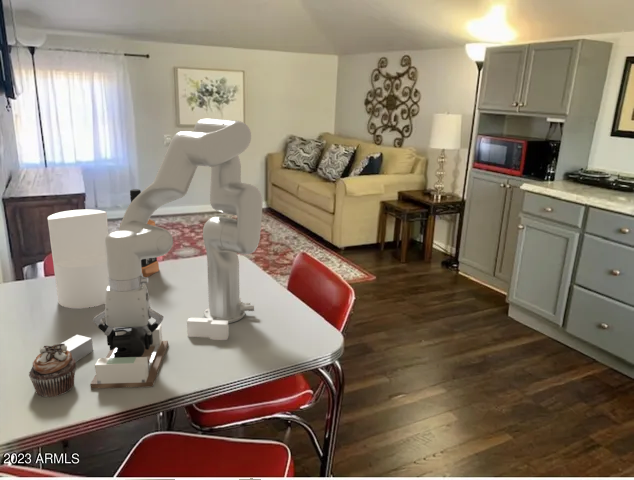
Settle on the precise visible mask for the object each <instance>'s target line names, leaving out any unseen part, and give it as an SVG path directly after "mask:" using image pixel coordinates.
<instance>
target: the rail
mask: <svg viewBox="0 0 634 480" xmlns="http://www.w3.org/2000/svg"><path fill="white" fill-rule="evenodd" d="M159 347H160V344H156V346H155V349H154V351H153V353H152V356H151V358H150V361H149V363H148V373H149V372H150V370H151V367H152V365H153V362H154V360H155V357H156V355H157V352H158V350H159ZM116 351H117V348H115V350H114V352H116ZM114 352H113V354H112V356H111V357H110V358H114ZM97 382H98V383H100V384H101V381H97ZM143 382H144V381H143V380H142V383H143ZM98 383H97V384H98Z"/></svg>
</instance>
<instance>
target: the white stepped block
mask: <svg viewBox="0 0 634 480" xmlns="http://www.w3.org/2000/svg"><path fill="white" fill-rule="evenodd" d="M186 324H187V325H186V326H187V327H186V328H187V331H186V332H187V337H189V338H208V340H209V339H210V340H214V341H215V340H217V341H219V340H220V341H228V338H229V323H228V321H221V320H213V318H205V317H188V318H187V321H186Z"/></svg>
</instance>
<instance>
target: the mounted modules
mask: <svg viewBox="0 0 634 480" xmlns="http://www.w3.org/2000/svg"><path fill="white" fill-rule="evenodd" d="M162 330H163V329H162V323H160V325H159V326H158V327H157V329H155V330H154V331H153V332H152V335H153V344H152V345H150V346H156V344H160V345H161V343H162V341H163V331H162ZM115 333H116V335H123V334H125V333H126V332H125V331H121V332H115ZM94 368H95V369H94V370H95V375H96V379H97V381H101V384H109V383H142V380H143V381H144V382H146V381H147V378H148V376H149V373H148V360H147V357H121V358H106V357H99V358H98V359H97V361H96V363H95V364H94ZM97 383H98V382H97ZM98 384H100V383H98Z"/></svg>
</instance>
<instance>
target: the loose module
mask: <svg viewBox="0 0 634 480" xmlns="http://www.w3.org/2000/svg"><path fill="white" fill-rule="evenodd" d="M60 344H65V346H67V350H68V351H69V352H70V353H71V354H72V358H73V359H75V362H78V361H79V360H81V359H83V358H85V357H86V356H87V355H89V354H90V353H92V352H93V351H94V345H93V339H92V337H88V336H84V335H81V334H75V335H74V336H71V337H70V338H68V339H67V340H65V341H63V342H61V343H60Z"/></svg>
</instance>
